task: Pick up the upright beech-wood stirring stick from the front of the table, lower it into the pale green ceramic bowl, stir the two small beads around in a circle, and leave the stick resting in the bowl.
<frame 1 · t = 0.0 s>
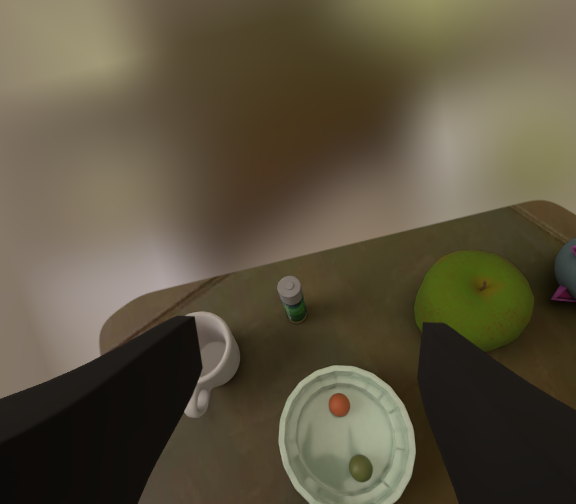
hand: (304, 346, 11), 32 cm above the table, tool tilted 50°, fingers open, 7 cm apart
bead terracotta: (339, 404, 37), point 2 cm above the table, touching bowl
apple: (453, 318, 42), on the table
battery: (297, 314, 45), on the table
bead olive: (360, 468, 34), point 2 cm above the table, touching bowl
bowl: (343, 436, 37), on the table
cup: (215, 373, 42), on the table
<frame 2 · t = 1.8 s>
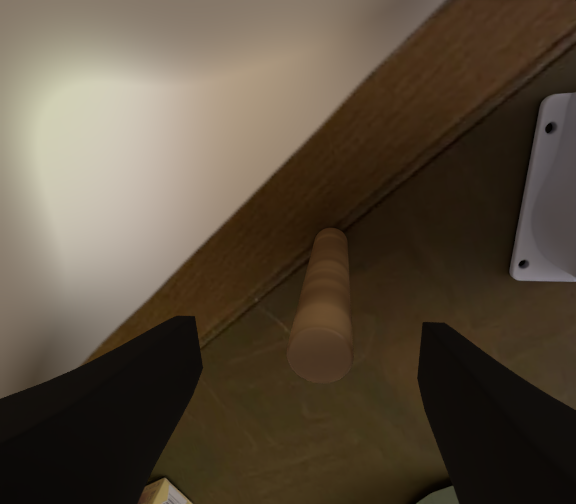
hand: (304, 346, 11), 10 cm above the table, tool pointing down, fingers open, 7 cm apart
stir stick: (330, 243, 20), on the table
candy box: (150, 501, 31), on the table
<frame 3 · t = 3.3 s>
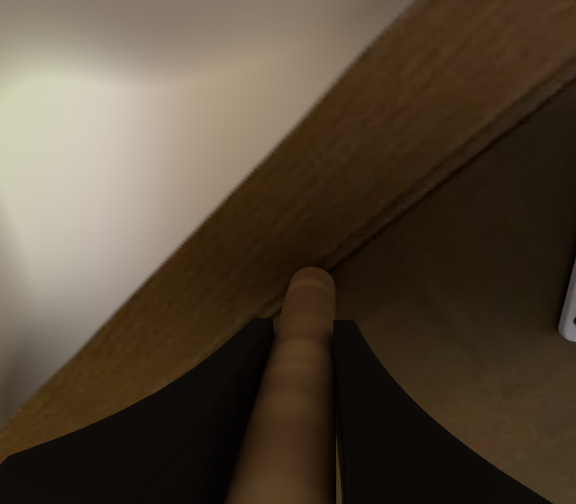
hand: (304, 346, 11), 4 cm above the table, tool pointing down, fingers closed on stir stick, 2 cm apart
stir stick: (312, 287, 15), on the table, touching gripper
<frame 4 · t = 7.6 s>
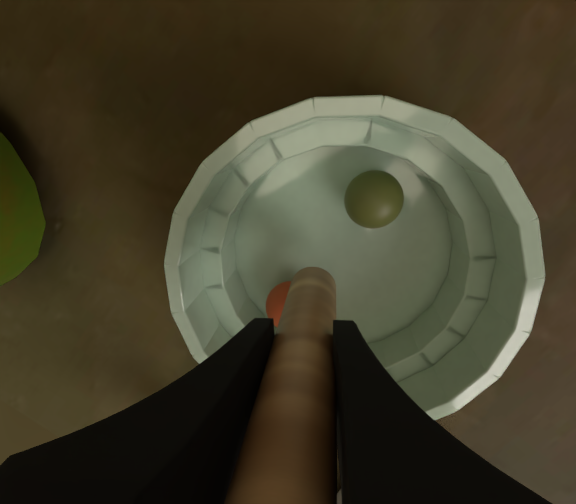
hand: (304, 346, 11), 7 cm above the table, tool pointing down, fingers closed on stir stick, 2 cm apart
bead terracotta: (290, 306, 16), point 2 cm above the table, tilted 5°, touching bowl, stir stick
bead olive: (373, 199, 14), point 2 cm above the table, touching bowl
stir stick: (313, 286, 15), point 3 cm above the table, touching bead terracotta, gripper
bowl: (338, 251, 17), on the table
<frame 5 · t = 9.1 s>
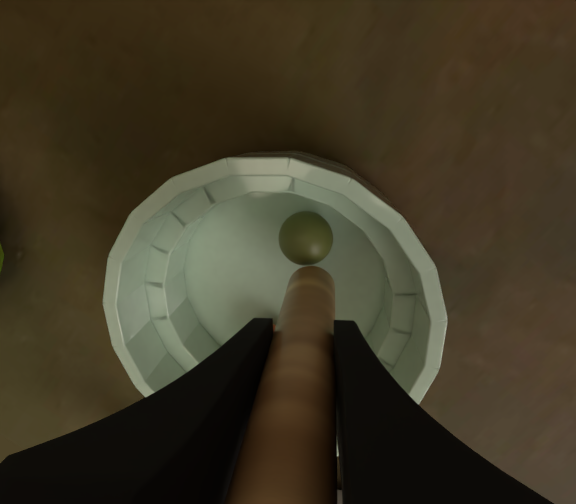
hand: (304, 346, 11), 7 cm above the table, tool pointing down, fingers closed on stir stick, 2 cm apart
bead olive: (305, 238, 15), point 2 cm above the table, touching bowl
stir stick: (311, 286, 14), point 3 cm above the table, touching gripper
bowl: (283, 281, 18), on the table
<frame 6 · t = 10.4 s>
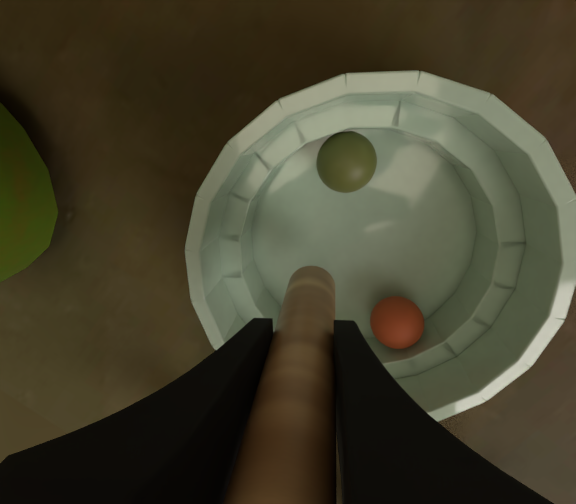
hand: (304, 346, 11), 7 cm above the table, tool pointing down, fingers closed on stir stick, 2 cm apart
bead terracotta: (396, 322, 16), point 2 cm above the table, tilted 154°, touching bowl
bead olive: (346, 162, 13), point 2 cm above the table, tilted 109°, touching bowl
stir stick: (311, 286, 14), point 3 cm above the table, touching gripper
bowl: (357, 240, 16), on the table
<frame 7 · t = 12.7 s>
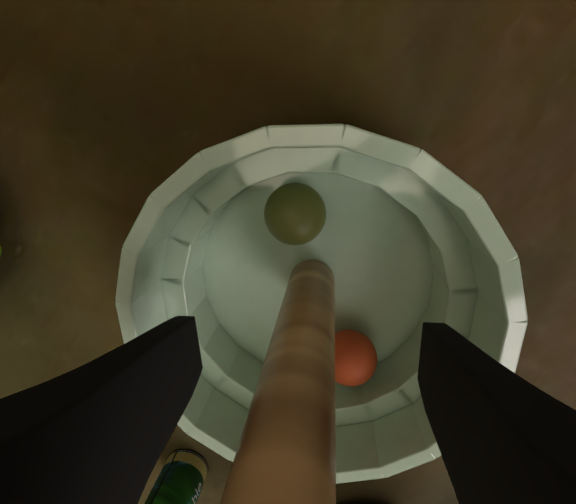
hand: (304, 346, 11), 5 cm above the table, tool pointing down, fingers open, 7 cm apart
bead terracotta: (349, 357, 15), point 2 cm above the table, tilted 144°, touching bowl
battery: (189, 461, 21), on the table
bead olive: (295, 214, 13), point 2 cm above the table, tilted 94°, touching bowl
stir stick: (312, 279, 15), point 1 cm above the table, touching bowl
bowl: (313, 277, 16), on the table
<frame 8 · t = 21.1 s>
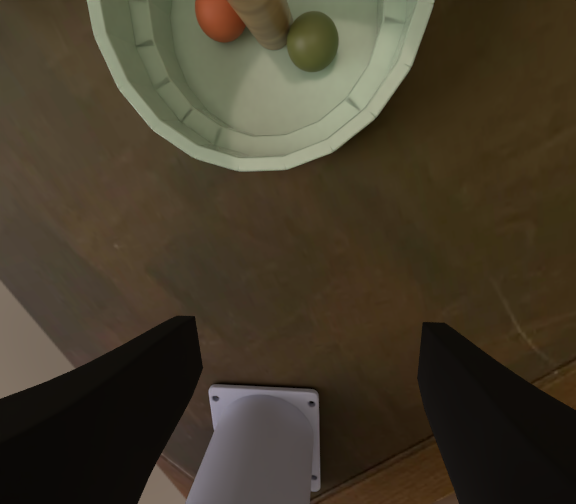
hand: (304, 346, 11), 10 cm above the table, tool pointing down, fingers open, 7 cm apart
bead terracotta: (221, 12, 15), point 2 cm above the table, tilted 95°, touching bowl
bead olive: (312, 42, 15), point 2 cm above the table, tilted 56°, touching bowl
stir stick: (273, 27, 16), point 1 cm above the table, touching bowl
bowl: (272, 30, 17), on the table
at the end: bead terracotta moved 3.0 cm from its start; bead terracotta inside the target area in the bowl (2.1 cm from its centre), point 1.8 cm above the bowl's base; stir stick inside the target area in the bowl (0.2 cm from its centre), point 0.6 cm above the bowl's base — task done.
